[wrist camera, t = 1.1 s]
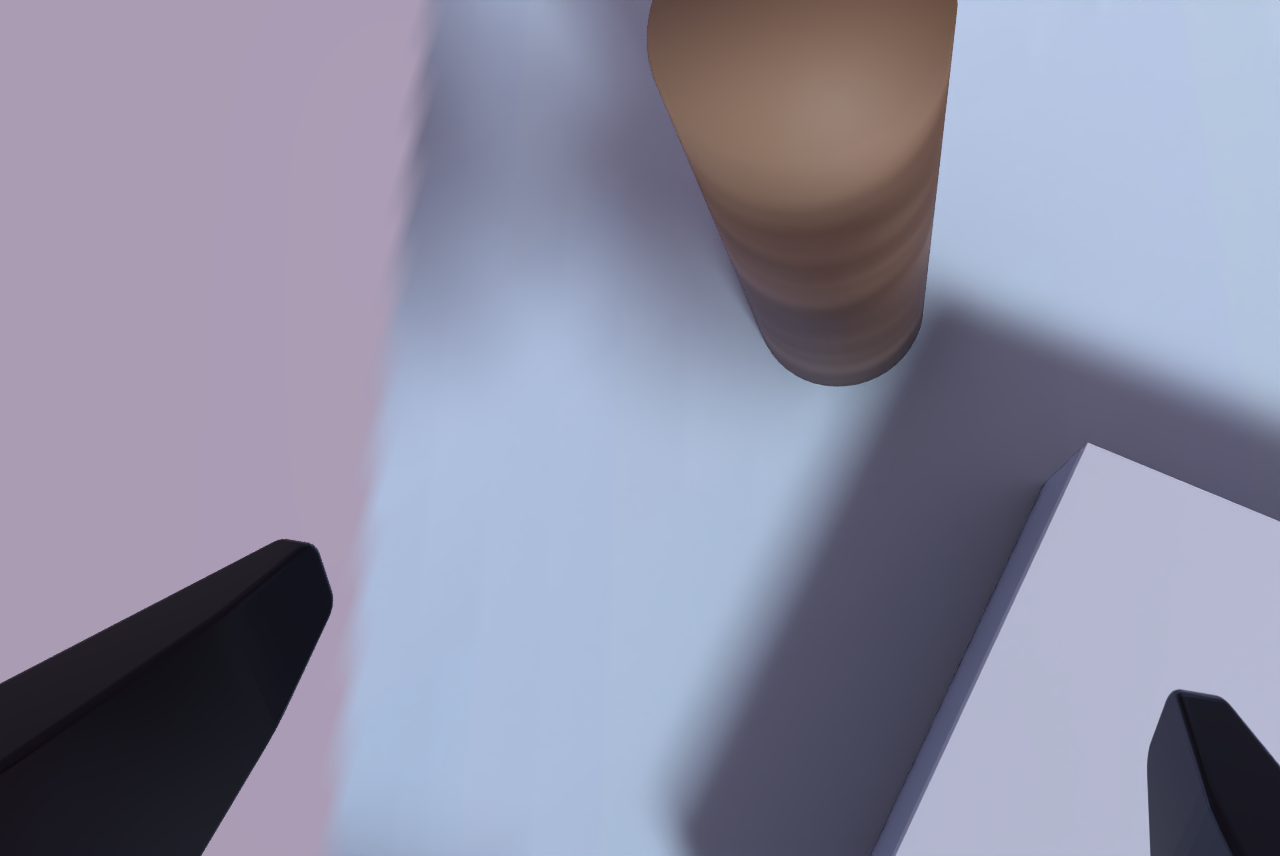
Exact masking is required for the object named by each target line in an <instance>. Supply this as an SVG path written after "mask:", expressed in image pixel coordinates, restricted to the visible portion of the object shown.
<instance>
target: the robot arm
mask: <svg viewBox="0 0 1280 856" xmlns="http://www.w3.org/2000/svg"><path fill="white" fill-rule="evenodd" d="M332 606H333V594H332V590H331V587H330V584H329V581H328V578H327V575H326V572H325V568H324V565H323V562H322V559H321V556H320V553H319V551H318V549H317V548H316V547H315V546H314V545H313V544H310V543H306V542H301V541H295V540H289V539H281V540H277V541H275V542H273V543H271V544H269V545H267V546H265V547H263V548H261V549H259V550H257V551H255V552H253V553H251V554H250V555H247V556H246V557H244V558H242V559H240V560H238V561H236V562H234V563H232V564H230V565H228V566H226V567H224V568H222V569H221V570H219V571H217V572H215V573H213V574H211V575H209V576H207V577H205V578H203V579H201V580H199V581H197V582H195V583H193V584H192V585H190V586H188V587H186V588H184V589H182V590H180V591H178V592H176V593H174V594H172V595H170V596H168V597H167V598H165V599H163V600H161V601H159V602H157V603H155V604H153V605H151V606H149V607H147V608H145V609H143V610H141V611H140V612H137V613H136V614H134V615H132V616H130V617H128V618H126V619H124V620H122V621H120V622H118V623H116V624H114V625H113V626H110V627H109V628H107V629H105V630H103V631H101V632H99V633H97V634H95V635H93V636H91V637H89V638H87V639H85V640H84V641H82V642H80V643H78V644H76V645H74V646H72V647H70V648H68V649H66V650H64V651H62V652H61V653H58V654H56V655H54V656H53V657H51V658H49V659H47V660H45V661H43V662H41V663H39V664H37V665H35V666H33V667H32V668H29V669H28V670H26V671H24V672H22V673H20V674H18V675H16V676H14V677H12V678H10V679H8V680H6V681H4V682H2V683H1V684H0V856H201V855H202V853H203V852H204V850H205V848H206V847H207V845H208V843H209V841H210V840H211V838H212V837H213V835H214V833H215V832H216V830H217V828H218V827H219V825H220V823H221V822H222V820H223V818H224V817H225V815H226V813H227V812H228V810H229V808H230V807H231V805H232V803H233V801H234V800H235V798H236V796H237V795H238V793H239V791H240V790H241V788H242V786H243V785H244V783H245V781H246V779H247V778H248V776H249V775H250V773H251V771H252V769H253V768H254V766H255V765H256V763H257V761H258V760H259V758H260V756H261V755H262V753H263V751H264V749H265V748H266V746H267V744H268V743H269V741H270V739H271V737H272V735H273V734H274V732H275V730H276V728H277V726H278V724H279V722H280V720H281V718H282V716H283V715H284V712H285V711H286V708H287V706H288V704H289V702H290V700H291V698H292V696H293V693H294V691H295V689H296V687H297V685H298V683H299V680H300V679H301V676H302V674H303V672H304V670H305V668H306V666H307V664H308V662H309V659H310V657H311V655H312V653H313V651H314V649H315V646H316V644H317V642H318V640H319V638H320V636H321V634H322V631H323V629H324V627H325V625H326V623H327V621H328V619H329V616H330V614H331V610H332ZM1147 788H1148V812H1149V836H1150V856H1280V765H1279V764H1278V762H1277V761H1276V760H1275V759H1274V758H1273V756H1272V755H1271V754H1270V753H1269V751H1268V750H1267V749H1266V748H1265V747H1264V745H1263V744H1262V743H1261V742H1260V740H1259V739H1258V738H1257V737H1256V736H1255V734H1254V733H1253V732H1252V731H1251V729H1250V728H1249V727H1248V726H1247V725H1246V723H1245V722H1244V721H1243V720H1242V718H1241V717H1240V716H1239V715H1238V714H1237V712H1236V711H1235V710H1234V709H1233V707H1232V706H1231V705H1230V704H1229V703H1228V702H1227V701H1226V700H1225V699H1223V698H1222V697H1220V696H1217V695H1212V694H1206V693H1200V692H1194V691H1188V690H1182V689H1177V690H1174V691H1172V692H1171V693H1170V694H1169V696H1168V697H1167V699H1166V702H1165V705H1164V707H1163V710H1162V713H1161V715H1160V718H1159V721H1158V724H1157V726H1156V729H1155V732H1154V734H1153V737H1152V740H1151V743H1150V746H1149V750H1148V757H1147Z"/></svg>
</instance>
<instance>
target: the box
mask: <svg viewBox="0 0 1280 856" xmlns="http://www.w3.org/2000/svg"><path fill="white" fill-rule="evenodd" d="M1177 689H1182V690H1188V691H1194V692H1200V693H1206V694H1212V695H1217V696H1220V697H1222V698H1223V699H1225V700H1226V701H1227V702H1228V703H1229V704H1230V705H1231V706H1232V707H1233V709H1234V710H1235V711H1236V712H1237V714H1238V715H1239V716H1240V717H1241V718H1242V720H1243V721H1244V722H1245V723H1246V725H1247V726H1248V727H1249V728H1250V729H1251V731H1252V732H1253V733H1254V734H1255V736H1256V737H1257V738H1258V739H1259V740H1260V742H1261V743H1262V744H1263V745H1264V747H1265V748H1266V749H1267V750H1268V751H1269V753H1270V754H1271V755H1272V756H1273V758H1274V759H1275V760H1276V761H1277V762H1278V764H1279V765H1280V521H1277V520H1275V519H1273V518H1270V517H1268V516H1265V515H1263V514H1260V513H1258V512H1256V511H1253V510H1251V509H1248V508H1246V507H1243V506H1241V505H1239V504H1236V503H1234V502H1231V501H1229V500H1226V499H1224V498H1222V497H1219V496H1217V495H1214V494H1212V493H1209V492H1207V491H1205V490H1202V489H1200V488H1197V487H1195V486H1192V485H1190V484H1188V483H1185V482H1183V481H1180V480H1178V479H1175V478H1173V477H1171V476H1168V475H1166V474H1163V473H1161V472H1158V471H1156V470H1154V469H1151V468H1149V467H1146V466H1144V465H1141V464H1139V463H1137V462H1134V461H1132V460H1129V459H1127V458H1124V457H1122V456H1120V455H1117V454H1115V453H1112V452H1110V451H1107V450H1105V449H1103V448H1100V447H1098V446H1095V445H1093V444H1090V443H1087V444H1086V445H1085V446H1084V447H1083V448H1082V449H1080V450H1079V451H1078V452H1077V453H1076V454H1075V455H1074V456H1073V457H1072V458H1071V459H1070V460H1069V461H1068V462H1066V463H1065V464H1064V465H1063V466H1062V467H1061V468H1060V469H1059V470H1058V471H1057V472H1056V473H1055V474H1054V475H1052V476H1051V477H1050V478H1049V479H1048V480H1047V481H1046V482H1045V483H1044V485H1043V487H1042V489H1041V492H1040V494H1039V496H1038V498H1037V500H1036V502H1035V504H1034V506H1033V509H1032V511H1031V513H1030V515H1029V517H1028V519H1027V521H1026V524H1025V526H1024V528H1023V530H1022V532H1021V534H1020V536H1019V539H1018V541H1017V543H1016V545H1015V547H1014V549H1013V551H1012V554H1011V556H1010V558H1009V560H1008V562H1007V564H1006V566H1005V568H1004V571H1003V573H1002V575H1001V577H1000V579H999V581H998V583H997V586H996V588H995V590H994V592H993V594H992V596H991V598H990V601H989V603H988V605H987V607H986V609H985V611H984V613H983V616H982V618H981V620H980V622H979V624H978V626H977V628H976V630H975V633H974V635H973V637H972V639H971V641H970V643H969V645H968V648H967V650H966V652H965V654H964V656H963V658H962V660H961V663H960V665H959V667H958V669H957V671H956V673H955V675H954V678H953V680H952V682H951V684H950V686H949V688H948V690H947V693H946V695H945V697H944V699H943V701H942V703H941V705H940V707H939V710H938V712H937V714H936V716H935V718H934V720H933V722H932V725H931V727H930V729H929V731H928V733H927V735H926V737H925V740H924V742H923V744H922V746H921V748H920V750H919V752H918V755H917V757H916V759H915V761H914V763H913V765H912V767H911V770H910V772H909V774H908V776H907V778H906V780H905V782H904V784H903V787H902V789H901V791H900V793H899V795H898V797H897V799H896V802H895V804H894V806H893V808H892V810H891V812H890V814H889V817H888V819H887V821H886V823H885V825H884V827H883V829H882V832H881V834H880V836H879V838H878V840H877V842H876V844H875V846H874V849H873V851H872V853H871V855H870V856H1150V836H1149V812H1148V788H1147V757H1148V750H1149V746H1150V743H1151V740H1152V737H1153V734H1154V732H1155V729H1156V726H1157V724H1158V721H1159V718H1160V715H1161V713H1162V710H1163V707H1164V705H1165V702H1166V699H1167V697H1168V696H1169V694H1170V693H1171V692H1172V691H1174V690H1177Z"/></svg>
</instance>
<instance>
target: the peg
mask: <svg viewBox="0 0 1280 856" xmlns="http://www.w3.org/2000/svg"><path fill="white" fill-rule="evenodd" d="M957 5H958V4H957V0H653V2H652V6H651V9H650V14H649V20H648V26H647V49H648V57H649V63H650V67H651V71H652V74H653V78H654V80H655V83H656V85H657V87H658V90H659V92H660V95H661V97H662V99H663V102H664V104H665V106H666V109H667V111H668V113H669V116H670V118H671V120H672V123H673V125H674V128H675V130H676V132H677V135H678V137H679V139H680V142H681V144H682V146H683V149H684V151H685V153H686V156H687V158H688V161H689V163H690V165H691V168H692V170H693V172H694V175H695V177H696V179H697V182H698V184H699V186H700V189H701V191H702V194H703V196H704V198H705V201H706V203H707V205H708V208H709V210H710V212H711V215H712V217H713V219H714V222H715V224H716V227H717V229H718V231H719V234H720V236H721V238H722V241H723V243H724V245H725V248H726V250H727V252H728V255H729V257H730V260H731V262H732V264H733V267H734V269H735V271H736V274H737V276H738V278H739V281H740V283H741V285H742V288H743V290H744V293H745V295H746V297H747V300H748V302H749V304H750V307H751V309H752V311H753V314H754V316H755V318H756V321H757V323H758V326H759V328H760V330H761V333H762V335H763V337H764V340H765V342H766V344H767V346H768V348H769V349H770V351H771V353H772V354H773V355H774V357H775V358H776V359H777V360H778V361H779V363H781V364H782V365H783V366H784V367H785V368H786V369H787V370H789V371H790V372H792V373H793V374H795V375H796V376H798V377H800V378H802V379H804V380H807V381H810V382H812V383H816V384H820V385H825V386H850V385H856V384H860V383H863V382H867V381H869V380H872V379H874V378H876V377H878V376H880V375H882V374H884V373H885V372H887V371H888V370H890V369H891V368H892V367H894V366H895V365H896V364H897V363H898V362H899V361H900V360H901V359H902V358H903V357H904V356H905V355H906V353H907V352H908V351H909V349H910V348H911V346H912V344H913V343H914V341H915V339H916V337H917V334H918V332H919V329H920V326H921V322H922V316H923V307H924V298H925V289H926V281H927V272H928V263H929V254H930V245H931V236H932V228H933V219H934V210H935V201H936V192H937V183H938V175H939V166H940V157H941V148H942V139H943V130H944V121H945V113H946V104H947V95H948V86H949V77H950V68H951V60H952V51H953V42H954V33H955V24H956V15H957Z"/></svg>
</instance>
